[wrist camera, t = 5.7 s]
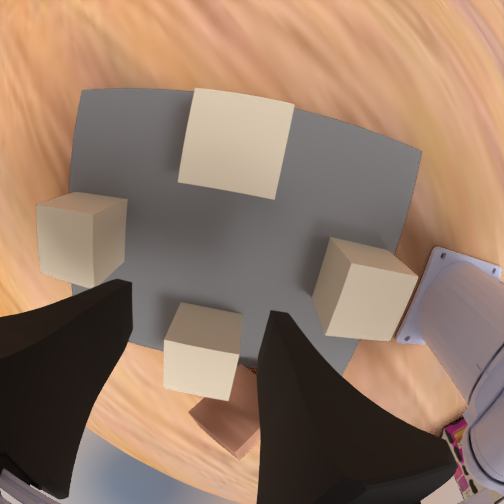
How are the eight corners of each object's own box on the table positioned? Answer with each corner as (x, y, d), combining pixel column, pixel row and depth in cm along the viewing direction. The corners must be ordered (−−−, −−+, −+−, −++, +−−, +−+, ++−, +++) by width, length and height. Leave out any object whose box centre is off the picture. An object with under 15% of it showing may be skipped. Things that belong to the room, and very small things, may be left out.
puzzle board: (417, 150, 14) (461, 154, 10) (339, 371, 20) (353, 414, 16) (87, 91, 13) (43, 80, 9) (80, 321, 19) (52, 355, 15)
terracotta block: (287, 396, 16) (234, 452, 13) (283, 414, 19) (239, 460, 16) (240, 363, 18) (188, 412, 15) (243, 385, 21) (200, 427, 18)
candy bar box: (437, 442, 27) (469, 522, 11) (442, 427, 25) (481, 515, 10) (492, 408, 25) (531, 476, 10) (500, 391, 24) (546, 463, 8)
